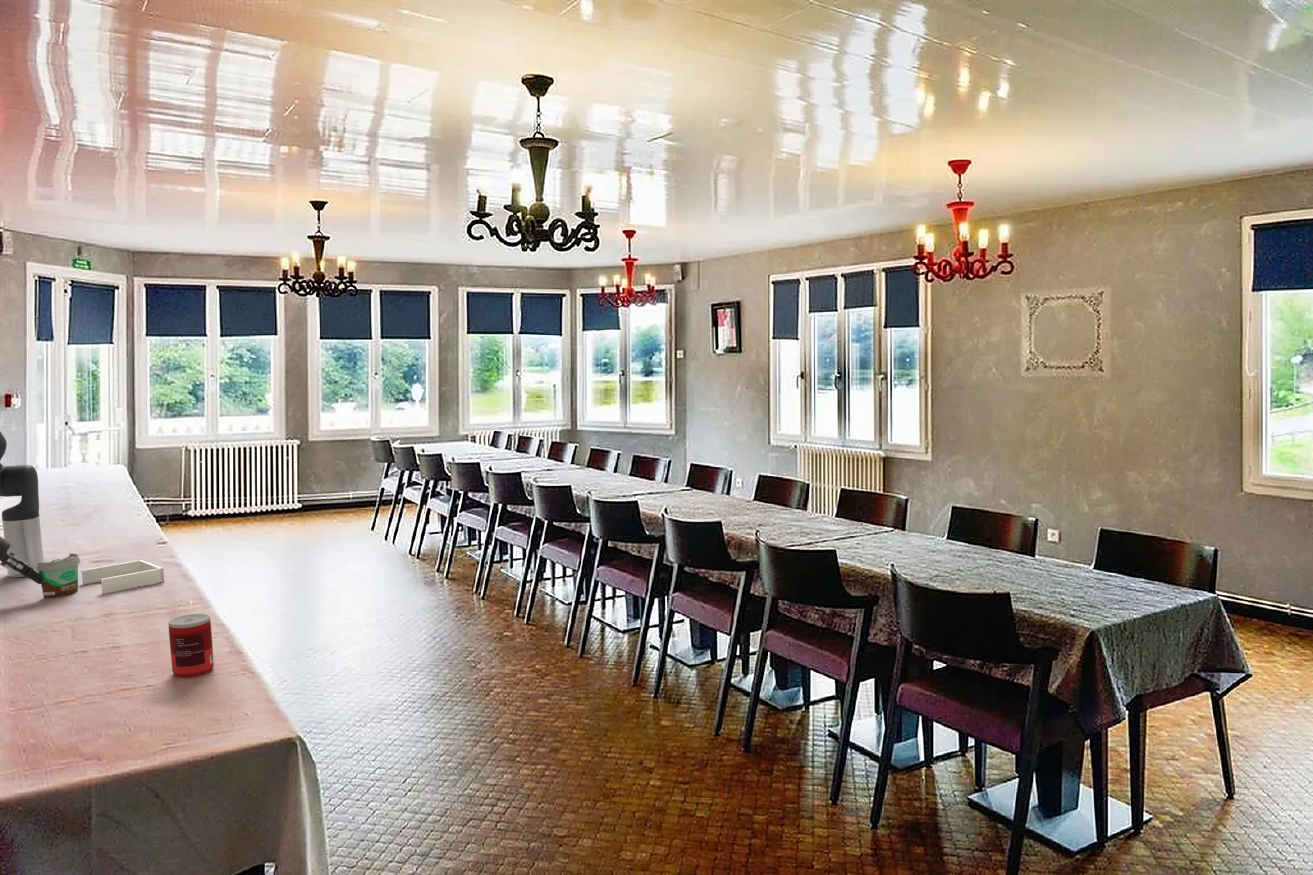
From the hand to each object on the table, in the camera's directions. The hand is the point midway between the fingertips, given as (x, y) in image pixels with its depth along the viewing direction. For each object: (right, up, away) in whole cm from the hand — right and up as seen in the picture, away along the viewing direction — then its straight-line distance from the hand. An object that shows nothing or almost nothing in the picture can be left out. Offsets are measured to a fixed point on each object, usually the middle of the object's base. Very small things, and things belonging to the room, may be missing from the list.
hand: (42, 581), depth 248 cm
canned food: (+72, -9, -61) cm, 95 cm away
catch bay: (+13, -3, +15) cm, 20 cm away
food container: (+4, -4, +5) cm, 7 cm away
